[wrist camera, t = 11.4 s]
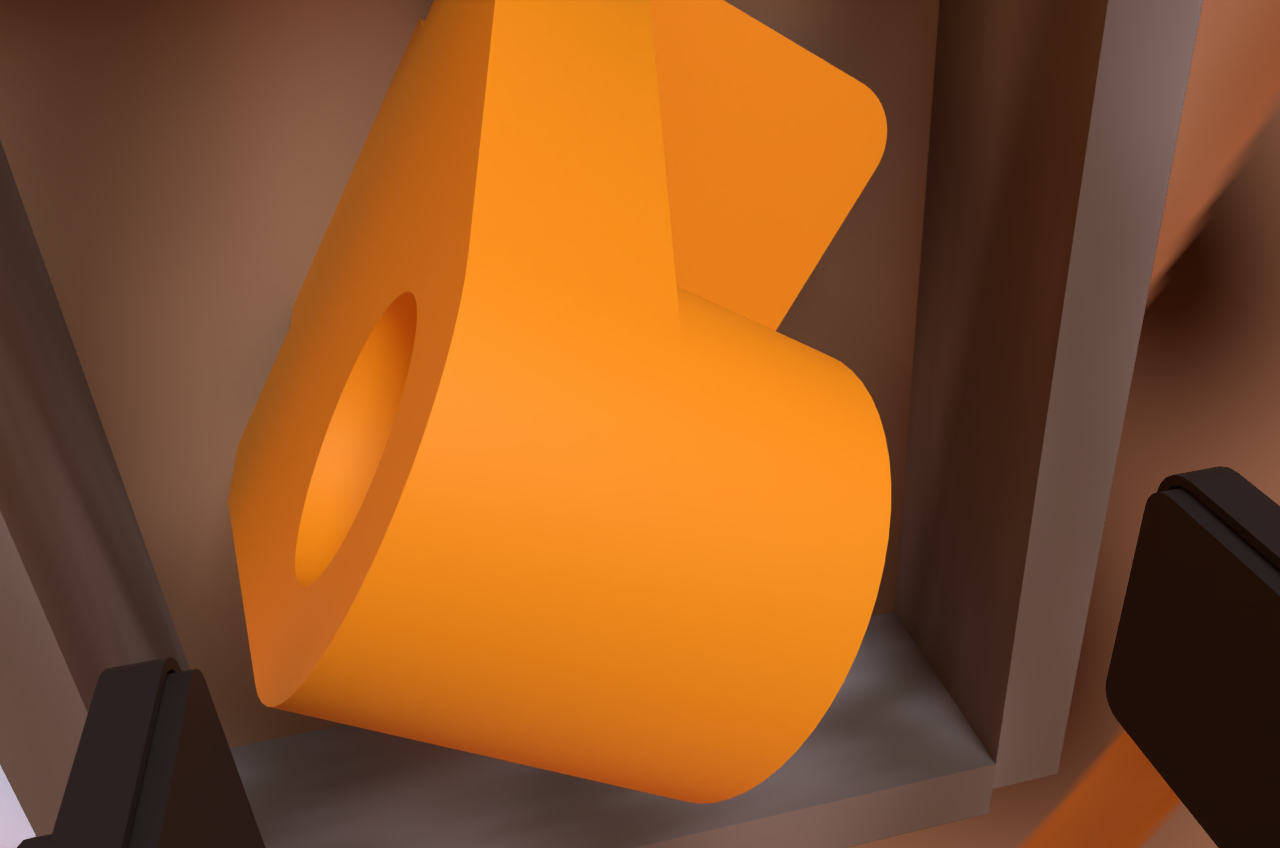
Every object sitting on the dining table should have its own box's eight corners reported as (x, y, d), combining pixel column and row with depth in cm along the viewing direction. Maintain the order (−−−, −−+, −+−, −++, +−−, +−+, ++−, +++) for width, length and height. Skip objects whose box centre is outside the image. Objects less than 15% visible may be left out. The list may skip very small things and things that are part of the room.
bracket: (577, 534, 24) (746, 1088, 13) (241, 423, 21) (133, 1027, 10) (847, 76, 20) (1357, 362, 10) (488, -138, 17) (687, -46, 7)
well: (1062, -552, 17) (1376, -709, 12) (941, 627, 29) (1070, 809, 24) (-378, -522, 14) (-824, -718, 9) (158, 790, 26) (108, 1042, 21)
